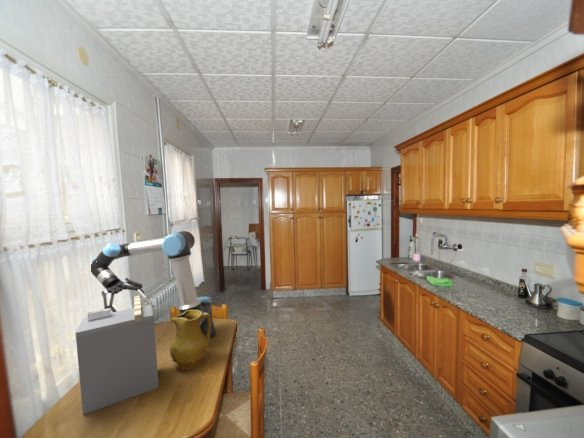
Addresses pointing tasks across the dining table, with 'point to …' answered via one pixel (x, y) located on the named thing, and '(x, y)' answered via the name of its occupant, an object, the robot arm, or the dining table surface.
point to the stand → (116, 358)
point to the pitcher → (190, 339)
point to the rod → (137, 308)
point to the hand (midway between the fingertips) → (133, 306)
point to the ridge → (99, 314)
